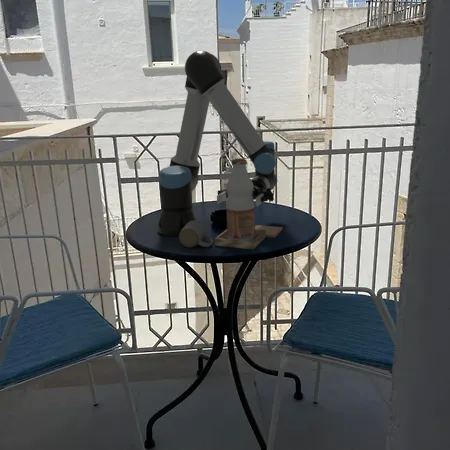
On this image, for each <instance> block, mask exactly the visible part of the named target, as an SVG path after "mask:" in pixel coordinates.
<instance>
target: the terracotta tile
mask: <svg viewBox="0 0 450 450" xmlns="http://www.w3.org/2000/svg"><path fill="white" fill-rule="evenodd" d="M255 229H259V230H266V237H265V238H276V237H277V236H278V235H279V234H280V233H281V232H282V230H283V227H282V226H270V225H257V224H255Z"/></svg>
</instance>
